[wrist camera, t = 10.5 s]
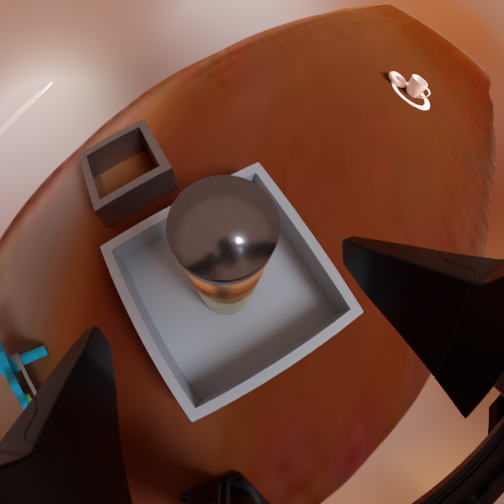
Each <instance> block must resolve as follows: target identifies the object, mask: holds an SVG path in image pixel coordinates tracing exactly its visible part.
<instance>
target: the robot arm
mask: <svg viewBox="0 0 504 504" xmlns="http://www.w3.org/2000/svg"><path fill="white" fill-rule="evenodd" d="M342 253H343V263H344V265H345V267H346V268H347V269H348V271H349V272H350V274H351V275H352V276H353V278H354V279H355V280H356V282H357V283H358V285H359V286H360V287H361V289H362V290H363V292H364V293H365V294H366V295H367V297H368V298H369V299H370V300H371V301H372V302H373V304H374V305H375V306H376V307H377V308H378V309H379V310H380V312H381V313H382V314H383V315H384V316H385V317H386V318H387V320H388V321H389V322H390V323H391V324H392V326H393V327H394V328H395V329H396V330H397V331H398V333H399V334H400V335H401V336H402V337H403V339H404V340H405V341H406V342H407V343H408V345H409V346H410V347H411V348H412V350H413V351H414V352H415V353H416V354H417V356H418V357H419V358H420V359H421V361H422V362H423V363H424V365H425V366H426V367H427V368H428V370H429V371H430V372H431V373H432V375H433V376H435V379H436V380H437V381H438V383H439V384H440V385H441V386H442V388H443V389H444V391H445V392H446V393H447V395H448V396H449V397H450V399H451V400H452V401H453V403H454V404H455V406H456V407H457V408H458V409H459V411H460V413H461V414H462V415H463V416H464V417H465V418H467V417H468V416H469V415H470V414H471V413H472V412H473V411H474V410H475V409H476V407H477V406H478V405H479V404H480V403H481V402H482V401H483V399H485V397H486V396H487V395H488V394H489V393H490V392H491V390H492V389H493V388H495V389H496V390H497V391H498V392H499V393H500V395H499V396H498V397H497V398H496V400H495V401H494V402H493V403H492V404H491V406H490V407H489V428H488V436H487V437H486V438H485V439H484V440H483V441H482V442H481V443H480V445H478V447H477V448H476V449H475V450H474V451H473V452H472V453H471V454H470V455H469V456H468V457H467V458H466V459H465V460H464V461H463V462H462V463H461V464H460V465H459V466H457V467H456V468H455V469H454V470H453V471H452V472H451V473H450V474H449V475H448V476H446V477H445V478H444V479H443V480H442V481H441V482H439V483H438V484H437V485H436V486H434V487H433V488H432V489H431V490H429V491H428V492H427V493H426V494H424V495H423V496H421V497H420V498H419V499H417V500H416V501H415V502H413V503H412V504H504V259H492V258H484V257H477V256H469V255H462V254H456V253H450V252H444V251H437V250H433V249H427V248H422V247H416V246H410V245H404V244H398V243H392V242H386V241H380V240H374V239H367V238H361V237H354V236H352V237H349V238H346V239H344V240H343V242H342ZM237 477H240V478H241V479H239V480H238V479H236V478H237ZM184 498H187V499H188V500H186V499H184ZM180 500H181V501H182V502H183V503H184V504H270V503H269V502H268V501H267V500H266V499H265V498H264V497H263V496H262V495H261V494H260V493H259V492H258V491H257V490H256V489H255V488H254V486H253V485H252V484H251V483H250V482H249V481H248V480H247V479H246V478H245V477H244V476H243V475H242V474H240V473H236V474H233V475H231V476H229V477H227V478H224V479H222V480H220V481H219V480H215V481H213V482H210V483H208V484H205V485H203V486H200V487H197V488H195V489H193V491H191V492H188V493H185V494H183V495H181V498H180ZM0 504H133V503H132V499H131V496H130V491H129V487H128V482H127V477H126V472H125V466H124V460H123V454H122V447H121V439H120V431H119V421H118V410H117V395H116V382H115V375H114V368H113V360H112V351H111V346H110V343H109V342H108V340H107V339H106V337H105V336H104V334H103V333H102V332H101V330H100V329H99V328H98V327H97V326H93V327H90V328H87V329H86V330H85V331H84V332H83V333H82V335H81V336H80V337H79V338H78V339H77V341H76V342H75V343H74V344H73V346H72V347H71V348H70V349H69V351H68V352H67V353H66V354H65V356H64V357H63V358H62V359H61V361H60V362H59V363H58V364H57V366H56V367H55V368H54V370H53V371H52V372H51V374H50V375H49V376H48V378H47V379H46V380H45V382H44V383H43V384H42V386H41V387H40V388H39V390H38V391H37V393H36V396H34V397H33V398H32V400H31V401H30V402H29V404H28V405H27V407H26V408H25V409H24V411H23V412H22V414H21V415H20V416H19V418H18V419H17V420H16V422H15V423H14V424H13V425H12V427H11V428H10V429H9V431H8V432H7V433H6V435H5V436H4V438H3V439H2V440H1V442H0Z"/></svg>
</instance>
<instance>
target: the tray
mask: <svg viewBox="0 0 504 504" xmlns="http://www.w3.org/2000/svg"><path fill="white" fill-rule="evenodd" d="M232 175H233V176H238V177H242V178H245V179H247V180H250V181H252V182H253V183H255V184H257V185H258V186H260V187H261V188H262V189H263V190H264V191H265V192H266V193H267V194H268V195H269V196H270V197H271V199H272V200H273V202H274V204H275V206H276V208H277V210H278V214H279V218H280V235H279V239H278V243H277V245H276V248H275V250H274V252H273V254H272V256H271V258H270V260H269V262H268V264H267V266H266V268H265V270H264V272H263V274H262V276H261V278H260V280H259V282H258V284H257V286H256V288H255V290H254V292H253V294H252V296H251V298H250V300H249V302H248V303H247V305H246V306H245V307H244V308H243V309H242V310H241V311H239V312H237V313H234V314H230V315H223V314H218V313H216V312H214V311H212V310H211V309H210V308H209V307H208V306H207V305H206V304H205V302H204V301H203V299H202V298H201V296H200V295H199V293H198V292H197V290H196V289H195V287H194V285H193V284H192V282H191V281H190V279H189V278H188V276H187V275H186V273H185V271H184V270H183V268H182V267H181V265H180V263H179V262H178V260H177V259H176V257H175V255H174V254H173V252H172V251H171V248H170V246H169V243H168V240H167V235H166V221H167V216H168V213H169V210H170V208H171V206H169V207H167V208H165V209H163V210H161V211H160V212H158V213H156V214H154V215H152V216H151V217H149V218H147V219H145V220H144V221H142V222H140V223H138V224H137V225H135V226H133V227H132V228H130V229H128V230H126V231H125V232H123V233H121V234H120V235H118V236H116V237H115V238H113V239H112V240H110V241H108V242H107V243H105V244H103V245H102V246H100V248H101V251H102V254H103V256H104V259H105V262H106V264H107V267H108V269H109V272H110V274H111V277H112V279H113V281H114V284H115V286H116V288H117V291H118V293H119V295H120V297H121V299H122V302H123V304H124V306H125V308H126V310H127V312H128V314H129V316H130V319H131V321H132V323H133V325H134V327H135V329H136V331H137V332H138V334H139V336H140V338H141V340H142V342H143V344H144V346H145V348H146V349H147V351H148V353H149V355H150V357H151V358H152V360H153V362H154V364H155V365H156V367H157V369H158V370H159V372H160V374H161V376H162V377H163V379H164V380H165V382H166V384H167V385H168V387H169V389H170V390H171V392H172V393H173V395H174V396H175V398H176V399H177V401H178V402H179V404H180V405H181V407H182V408H183V410H184V411H185V413H186V414H187V416H188V417H189V419H190V420H191V421H192V422H194V421H196V420H198V419H200V418H202V417H204V416H206V415H208V414H210V413H212V412H214V411H215V410H217V409H219V408H221V407H223V406H225V405H227V404H228V403H230V402H232V401H234V400H236V399H237V398H239V397H241V396H243V395H244V394H246V393H248V392H250V391H251V390H253V389H255V388H256V387H258V386H260V385H261V384H263V383H265V382H266V381H268V380H270V379H271V378H273V377H274V376H276V375H277V374H279V373H281V372H282V371H284V370H285V369H287V368H288V367H290V366H291V365H293V364H294V363H296V362H297V361H299V360H300V359H302V358H303V357H305V356H306V355H307V354H309V353H310V352H312V351H313V350H315V349H316V348H317V347H319V346H320V345H321V344H323V343H324V342H326V341H327V340H328V339H330V338H331V337H332V336H334V335H335V334H336V333H338V332H339V331H340V330H342V329H343V328H344V327H345V326H347V325H348V324H349V323H351V322H352V321H353V320H354V319H356V318H357V317H358V316H359V315H361V314H362V313H363V312H364V311H363V310H362V308H361V307H360V305H359V303H358V302H357V300H356V299H355V297H354V296H353V294H352V293H351V291H350V289H349V288H348V286H347V285H346V283H345V282H344V280H343V279H342V277H341V276H340V274H339V273H338V271H337V270H336V268H335V267H334V265H333V264H332V262H331V261H330V259H329V258H328V256H327V255H326V253H325V252H324V250H323V249H322V247H321V246H320V245H319V243H318V242H317V240H316V239H315V237H314V236H313V235H312V233H311V232H310V230H309V229H308V228H307V226H306V225H305V223H304V222H303V221H302V219H301V218H300V216H299V215H298V214H297V212H296V211H295V209H294V208H293V207H292V205H291V204H290V203H289V201H288V200H287V199H286V197H285V196H284V195H283V193H282V192H281V191H280V189H279V188H278V187H277V185H276V184H275V183H274V181H273V180H272V179H271V177H270V176H269V175H268V174H267V172H266V171H265V170H264V168H263V167H262V166H261V165H260V163H259V162H258V163H256V164H253V165H251V166H249V167H247V168H245V169H243V170H240V171H238V172H236V173H234V174H232Z"/></svg>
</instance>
